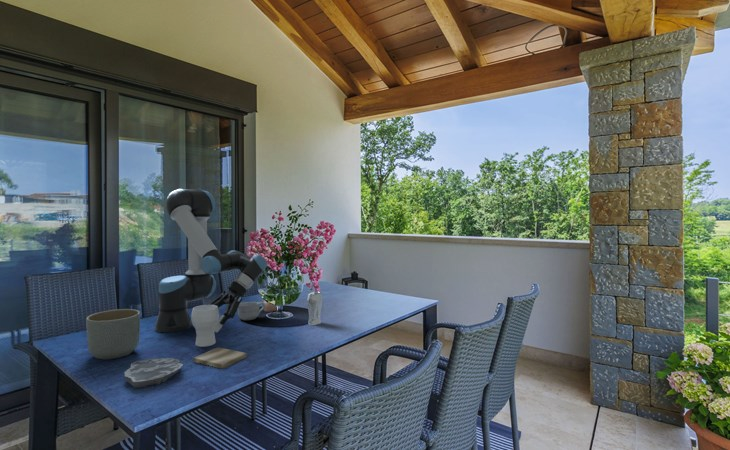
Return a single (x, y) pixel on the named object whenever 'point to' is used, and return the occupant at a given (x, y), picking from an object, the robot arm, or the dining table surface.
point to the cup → (205, 324)
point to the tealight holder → (269, 307)
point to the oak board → (220, 357)
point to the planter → (113, 333)
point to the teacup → (249, 310)
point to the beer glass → (314, 307)
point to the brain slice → (152, 371)
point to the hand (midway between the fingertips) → (206, 327)
